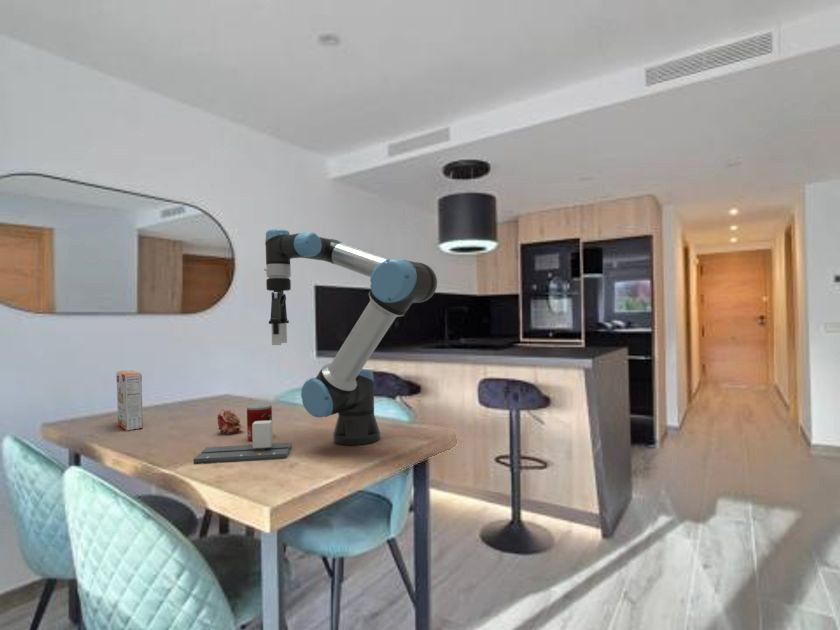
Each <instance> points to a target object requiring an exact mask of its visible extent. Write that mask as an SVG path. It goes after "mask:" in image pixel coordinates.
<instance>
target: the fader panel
mask: <svg viewBox="0 0 840 630" xmlns="http://www.w3.org/2000/svg"><path fill="white" fill-rule="evenodd" d="M292 448H293V442H278V443H277V442H276V443H273V444H272V446H271V447H267V448H265V450H261V448H253V444H243V445H226V446H224V445H222V446H208V447H205V448H204V449H203V450H202V451H201V452H200V453H199V454H198V455H196V456H195V457H194V458H193V465H199V464H200V465H201V463H203V464H215V463H216V464H217V462H220V463H231V462H232V463H233V462H234V463H235V462H236V463H237V462H248V461H249V462H252V461H265V460H266V461H267V460H280V459H281V460H283V459H284V460H285V458H286V459H287V458H288V456H289V454H290V452H291V450H292Z"/></svg>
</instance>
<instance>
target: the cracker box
mask: <svg viewBox="0 0 840 630" xmlns="http://www.w3.org/2000/svg"><path fill="white" fill-rule="evenodd" d="M142 375H143V374H142V373H141V372H137V371H135V370H121V371H116V398H117V399H116V400H117V405H116V406H117V424H118V426H119V427H120V426H121V428H122V429H123V430H124V429H125V430H126V431H125V432H128V431H127V430H131V431H135V430H134V429H136V430H141V429H140V428H142V429H143V428H144V422H143V421H144V420H143V419H144V418H143V385H142V383H143V382H142V381H143V380H142V378H143V377H142Z"/></svg>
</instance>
